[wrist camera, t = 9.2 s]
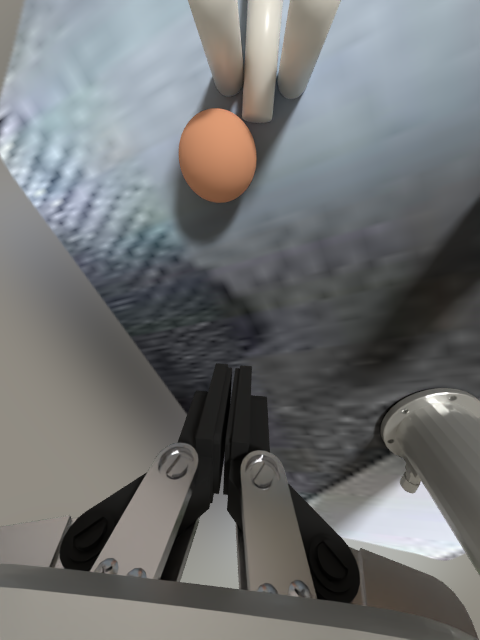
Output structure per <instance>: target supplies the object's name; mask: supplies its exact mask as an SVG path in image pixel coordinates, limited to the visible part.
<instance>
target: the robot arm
mask: <svg viewBox="0 0 480 640" xmlns="http://www.w3.org/2000/svg"><path fill="white" fill-rule="evenodd" d="M251 374H252V366H241V365H240V369H239V368H235V375H234V383H233V390H232V397H231V380H232V368H228V364H217V363H216V365H215V369H214V373H213V376H212V380H211V384H210V387H209V391H208V392H207V391H196V392H195V394H194V397H193V400H192V403H191V406H190V409H189V411H188V414H187V417H186V420H185V423H184V426H183V429H182V432H181V435H180V437H179V440H178V443H174V444H171V445H169V446H167V447H165V448H164V449H163V450H162V451H160V453H159V454H158V455H157V456H156V458H155V460H154V461H153V463H152V465H151V467H150V469H149V470H148V472H147V473H145V474H144V475H142V476H141V477H139V478H137V479H136V480H134V481H133V482H132V483H130V484H128V485H127V486H125V487H124V488H122V489H120V490H119V491H117V492H116V493H114V494H113V495H111V496H110V497H108V498H106V499H105V500H103V501H102V502H100V503H99V504H97V505H96V506H94V507H93V508H91V509H89V510H88V511H86V512H85V513H84V514H82V515H81V516H80V517H77V518H71V517H70V516H63V517H57V518H50V519H44V520H38V521H32V522H25V523H19V524H13V525H7V526H1V527H0V640H479V639H478V636H477V633H476V631H475V628H474V625H473V623H472V620H471V618H470V616H469V614H468V612H467V610H466V608H465V606H464V605H463V604H462V602H461V601H460V600H459V598H458V597H457V596H456V594H455V593H454V592H453V591H452V590H451V589H450V588H449V587H448V586H447V585H445V584H444V583H443V582H442V581H440V580H438V579H437V578H435V577H433V576H431V575H428V574H426V573H423V572H421V571H418V570H415V569H413V568H411V567H408V566H406V565H403V564H400V563H398V562H395V561H393V560H390V559H388V558H385V557H383V556H380V555H377V554H375V553H372V552H369V551H367V550H365V549H362V548H360V550H359V551H358V550H355V549H353V548H351V547H348V545H347V544H346V543H345V542H344V540H343V539H342V538H341V537H340V536H339V535H338V534H337V533H336V532H335V531H334V530H333V529H332V528H331V527H330V526H329V525H328V524H327V523H326V522H325V521H324V520H323V519H322V518H321V517H320V516H319V515H318V514H317V513H316V511H315V510H314V509H313V508H312V507H311V506H310V505H309V504H308V503H307V502H306V501H305V500H304V499H303V498H302V497H301V496H300V495H299V494H298V493H297V492H296V491H295V490H294V489H293V488H292V487H291V486H290V485H289V484H288V482H287V478H286V475H285V471H284V468H283V465H282V463H281V462H280V461H279V459H278V458H277V457H276V456H274V455H273V454H272V453H270V448H269V429H268V410H267V397H263V396H252V395H251ZM230 400H231V404H230ZM381 436H382V439H383V441H384V443H385V444H386V446H387V447H388V449H389V450H390V451H391V452H393V453H394V454H395V455H397V456H399V457H402V458H403V459H404V460H405V462H406V466H405V468H406V472H405V473H404V474H403V476H402V478H401V480H400V484H401V486H402V488H403V489H404V490H405V491H407V492H409V493H415V492H416V490H417V488H418V487H419V485H420V481H422V483H423V484H424V486H425V488H426V489H427V491H428V492H429V494H430V496H431V497H432V499H433V501H434V502H435V504H436V505H437V507H438V509H439V510H440V512H441V514H442V515H443V517H444V518H445V520H446V522H447V523H448V525H449V527H450V528H451V530H452V531H453V533H454V535H455V536H456V538H457V540H458V541H459V543H460V544H461V546H462V548H463V549H464V551H465V553H466V554H467V556H468V557H469V559H470V561H471V562H472V564H473V565H474V567H475V569H476V570H477V572H478V573H479V575H480V401H479V400H478V399H477V398H475V397H474V396H473V395H471V394H469V393H467V392H465V391H461V390H458V389H451V388H436V389H430V390H425V391H421V392H418V393H415V394H413V395H410V396H408V397H406V398H404V399H403V400H401V401H399V402H398V403H397V404H396V405H394V406H393V407H392V408H391V409H390V410H389V411H388V413H387V414H386V415H385V417H384V419H383V421H382V424H381ZM224 453H225V464H224V489H223V490H224V491H223V494H226V495H228V505H227V511H228V512H229V514H230V515H231V516H232V518H233V519H234V521H235V522H236V539H237V558H238V575H239V589H232V588H223V587H215V586H207V585H199V584H191V583H182V582H180V580H181V577H182V574H183V570H184V567H185V564H186V561H187V558H188V555H189V551H190V548H191V545H192V542H193V539H194V536H195V533H196V529H197V526H198V523H199V518H200V516H201V515H202V514H203V513H204V512H206V511H207V510H208V509H209V507H210V503H212V501H213V495H214V493H216V494H219V490H220V483H221V475H222V468H223V461H224Z"/></svg>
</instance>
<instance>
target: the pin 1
mask: <svg viewBox="0 0 480 640" xmlns="http://www.w3.org/2000/svg"><path fill="white" fill-rule="evenodd" d="M188 2H189V5H190V8H191V11H192V14H193V17H194V20H195V23H196V27H197V30H198V33H199V36H200V39H201V42H202V45H203V48H204V51H205V54H206V58H207V61H208V64H209V67H210V70H211V73H212V76H213V79H214V82H215V85H216V88H217V89H218V91H219V92H220V93H221V94H222V95H224V96H227V97H231V96H234V95H236V94H237V93H238V92H239V91H240V89H241V88H242V85H243V82H244V68H243V57H242V46H241V35H240V24H239V13H238V2H237V0H188Z"/></svg>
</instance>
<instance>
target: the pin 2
mask: <svg viewBox="0 0 480 640" xmlns="http://www.w3.org/2000/svg"><path fill="white" fill-rule="evenodd" d="M340 2H341V0H290V4H289V10H288V16H287V23H286V29H285V35H284V42H283V48H282V54H281V61H280V67H279V73H278V88H279V91H280V93H281V94H282V95H283V96H284V97H285V98H287V99H295V98H298V97H299V96H300V95H302V93H303V92H304V91H305V89H306V87H307V84H308V82H309V79H310V77H311V74H312V72H313V69H314V67H315V64H316V62H317V59H318V57H319V54H320V52H321V49H322V47H323V44H324V42H325V39H326V37H327V34H328V32H329V29H330V27H331V24H332V22H333V19H334V17H335V14H336V12H337V9H338V7H339V4H340Z"/></svg>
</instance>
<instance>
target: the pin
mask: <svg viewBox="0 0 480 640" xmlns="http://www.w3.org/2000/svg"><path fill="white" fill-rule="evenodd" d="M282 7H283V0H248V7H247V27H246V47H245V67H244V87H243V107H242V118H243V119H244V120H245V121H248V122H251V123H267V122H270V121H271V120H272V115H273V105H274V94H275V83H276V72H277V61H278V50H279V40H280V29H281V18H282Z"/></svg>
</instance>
